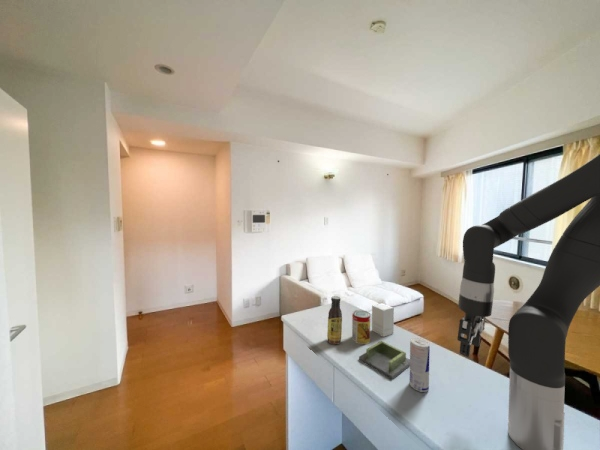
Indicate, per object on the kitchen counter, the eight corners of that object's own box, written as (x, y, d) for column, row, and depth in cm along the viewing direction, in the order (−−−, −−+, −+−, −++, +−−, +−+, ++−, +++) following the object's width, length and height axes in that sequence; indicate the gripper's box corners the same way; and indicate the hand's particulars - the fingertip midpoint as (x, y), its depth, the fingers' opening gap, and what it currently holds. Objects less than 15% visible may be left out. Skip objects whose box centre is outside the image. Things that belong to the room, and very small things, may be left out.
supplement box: (394, 333, 109) (394, 307, 109) (382, 337, 106) (383, 310, 105) (382, 327, 116) (382, 302, 115) (371, 330, 112) (371, 305, 112)
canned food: (373, 342, 102) (374, 315, 101) (359, 345, 99) (359, 318, 98) (362, 333, 109) (363, 308, 109) (348, 336, 106) (349, 311, 106)
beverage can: (431, 394, 71) (432, 347, 71) (412, 391, 72) (413, 345, 72) (425, 382, 77) (426, 338, 76) (407, 379, 78) (408, 336, 77)
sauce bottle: (330, 346, 98) (330, 300, 97) (325, 338, 104) (325, 295, 103) (344, 344, 100) (344, 299, 99) (338, 337, 106) (338, 294, 105)
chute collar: (412, 364, 86) (412, 353, 86) (392, 379, 78) (392, 367, 78) (379, 347, 97) (379, 337, 97) (359, 359, 89) (359, 349, 89)
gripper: (484, 306, 57) (477, 367, 58) (499, 294, 66) (493, 348, 67) (451, 295, 63) (445, 351, 64) (468, 286, 72) (463, 336, 73)
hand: (469, 349), depth 66 cm, fingers open, 8 cm apart
